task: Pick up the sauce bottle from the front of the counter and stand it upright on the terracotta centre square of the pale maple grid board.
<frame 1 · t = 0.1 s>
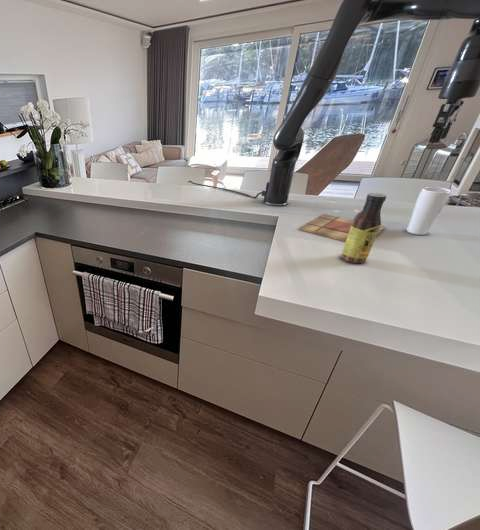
hand: (436, 140, 89), 29 cm above the countertop, tool pointing down, fingers open, 8 cm apart
board: (341, 229, 106), on the countertop
sauce bottle: (352, 259, 87), on the countertop
drinking glass: (416, 233, 99), on the countertop
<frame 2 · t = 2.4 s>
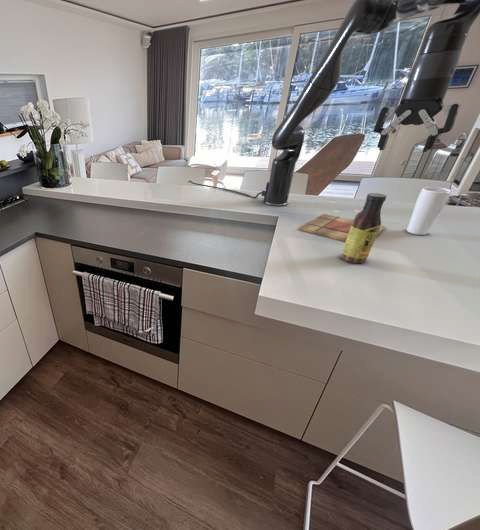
hand: (402, 150, 74), 30 cm above the countertop, tool pointing down, fingers open, 8 cm apart
nothing on the countertop moved.
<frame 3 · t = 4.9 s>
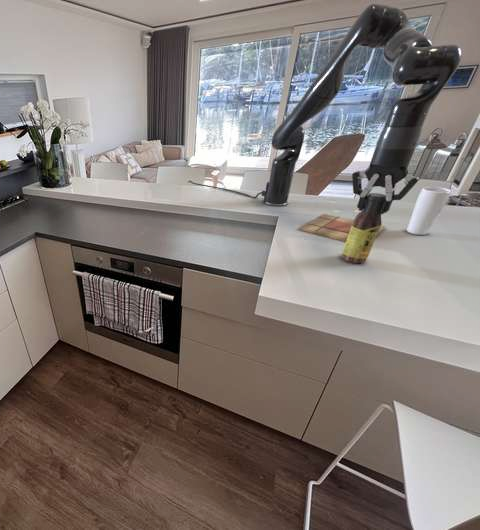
hand: (371, 211, 79), 15 cm above the countertop, tool pointing down, fingers closed on sauce bottle, 4 cm apart
sauce bottle: (352, 259, 87), on the countertop, touching gripper
everything else where it was.
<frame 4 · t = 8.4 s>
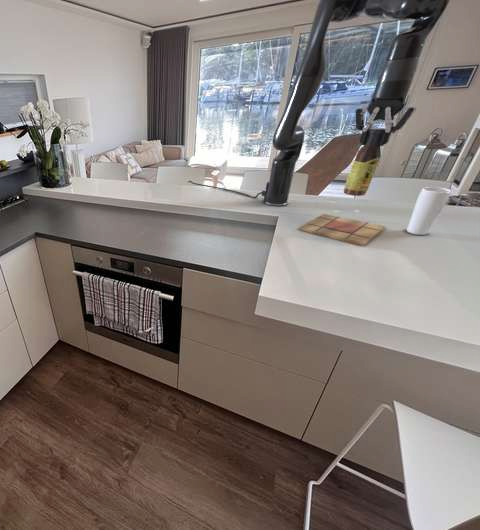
hand: (372, 145, 88), 30 cm above the countertop, tool pointing down, fingers closed on sauce bottle, 4 cm apart
sauce bottle: (353, 194, 96), point 14 cm above the countertop, touching gripper
everything else where it was.
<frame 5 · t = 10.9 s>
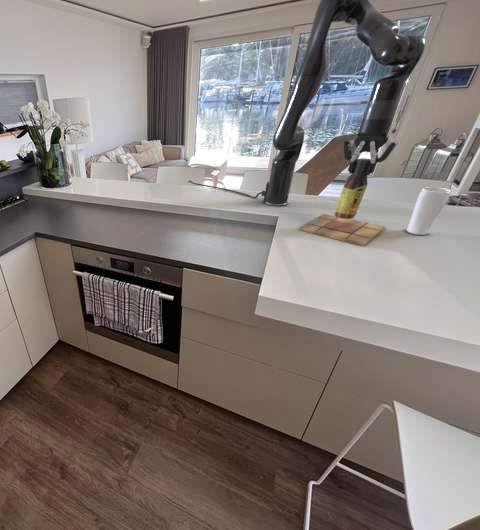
hand: (359, 173, 96), 20 cm above the countertop, tool pointing down, fingers closed on sauce bottle, 4 cm apart
sauce bottle: (343, 217, 104), point 5 cm above the countertop, touching gripper
everything else where it was.
when the fingers open (17 cm above the countertop, at t = 12.3 s): sauce bottle stays where it is, resting on board.
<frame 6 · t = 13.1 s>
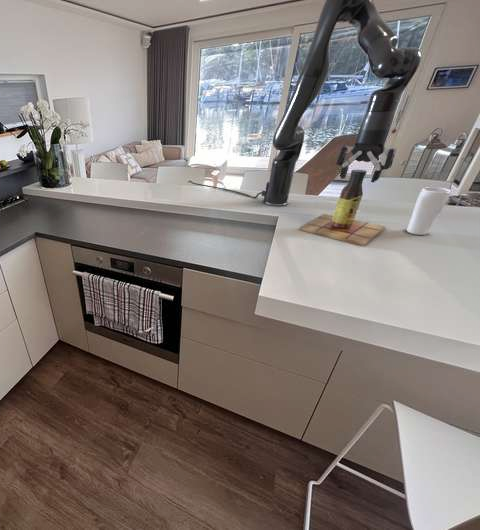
hand: (357, 180, 97), 18 cm above the countertop, tool pointing down, fingers open, 8 cm apart
sauce bottle: (340, 226, 106), point 1 cm above the countertop, touching board
everything else where it was.
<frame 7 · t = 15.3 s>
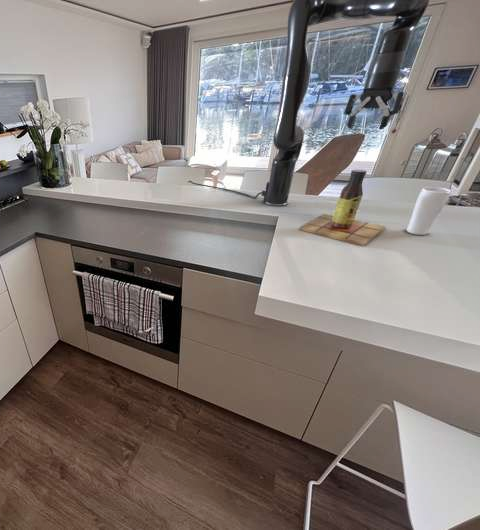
hand: (365, 128, 96), 33 cm above the countertop, tool pointing down, fingers open, 8 cm apart
nothing on the countertop moved.
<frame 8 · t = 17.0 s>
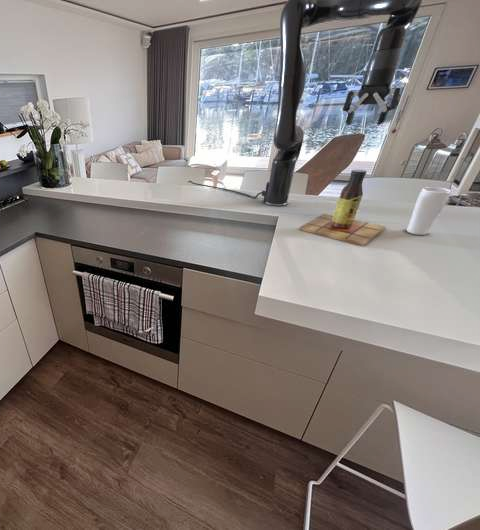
hand: (363, 124, 98), 34 cm above the countertop, tool pointing down, fingers open, 8 cm apart
nothing on the countertop moved.
at the end: sauce bottle 0.4 cm off-centre on the board, point 1.0 cm above the board's base; sauce bottle tilted 0°; the gripper is holding nothing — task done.
